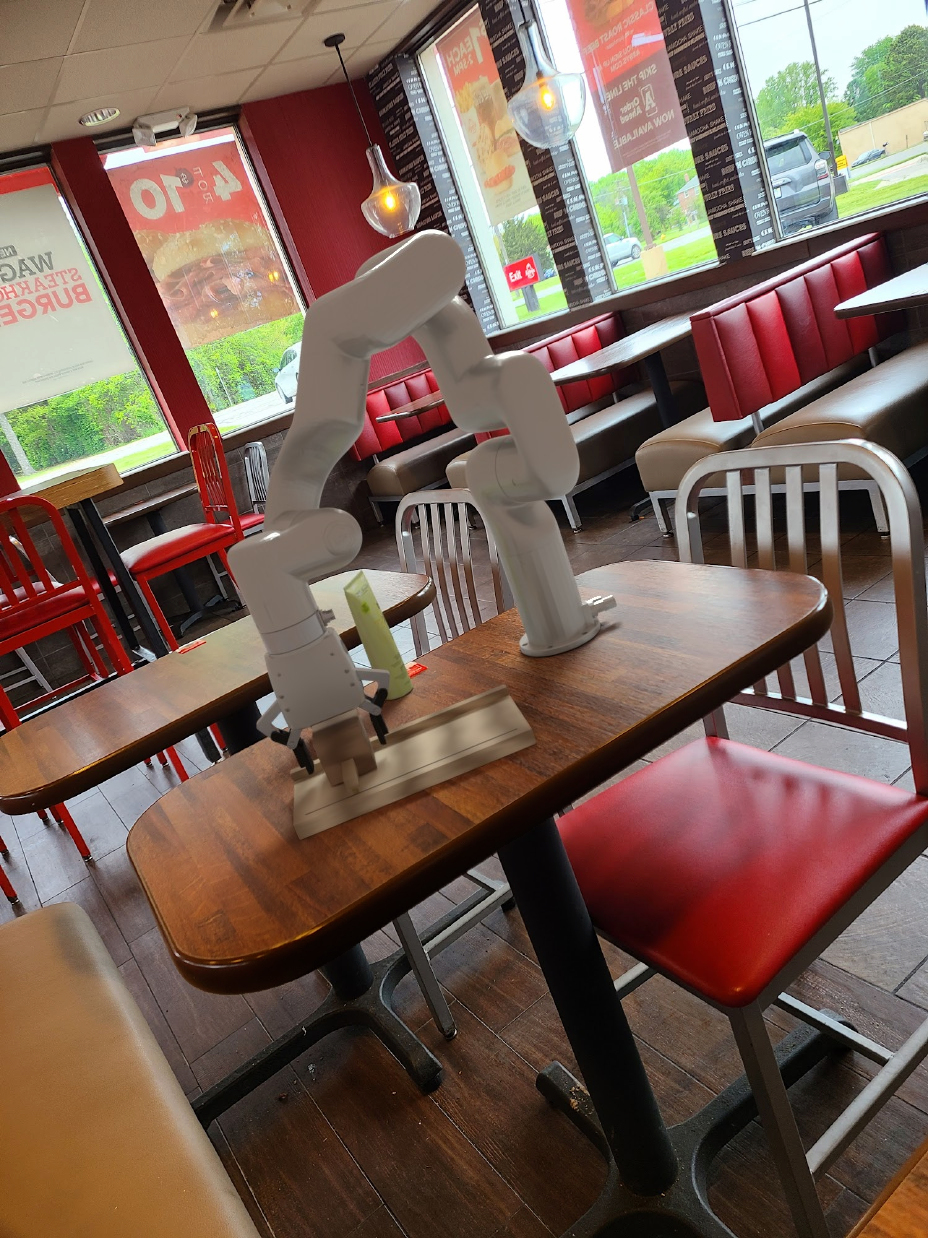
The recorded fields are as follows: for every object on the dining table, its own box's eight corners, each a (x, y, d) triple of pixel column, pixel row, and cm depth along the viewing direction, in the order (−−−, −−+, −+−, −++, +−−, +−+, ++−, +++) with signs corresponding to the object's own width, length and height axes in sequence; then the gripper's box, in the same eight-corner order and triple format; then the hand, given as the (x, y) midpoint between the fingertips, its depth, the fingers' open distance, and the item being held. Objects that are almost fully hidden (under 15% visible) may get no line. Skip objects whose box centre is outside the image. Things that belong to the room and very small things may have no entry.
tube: (420, 690, 133) (373, 572, 127) (391, 705, 131) (342, 587, 125) (406, 681, 138) (361, 568, 132) (378, 696, 136) (331, 582, 130)
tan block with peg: (373, 748, 113) (356, 708, 111) (380, 785, 103) (362, 742, 101) (329, 766, 113) (312, 726, 111) (332, 805, 102) (313, 762, 100)
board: (511, 704, 116) (504, 684, 116) (536, 743, 104) (528, 720, 103) (300, 790, 114) (290, 770, 113) (300, 840, 102) (289, 817, 101)
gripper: (360, 599, 108) (408, 718, 114) (228, 651, 107) (283, 768, 112) (364, 614, 101) (415, 740, 106) (223, 670, 100) (281, 795, 105)
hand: (347, 755), depth 109 cm, fingers open, 9 cm apart
